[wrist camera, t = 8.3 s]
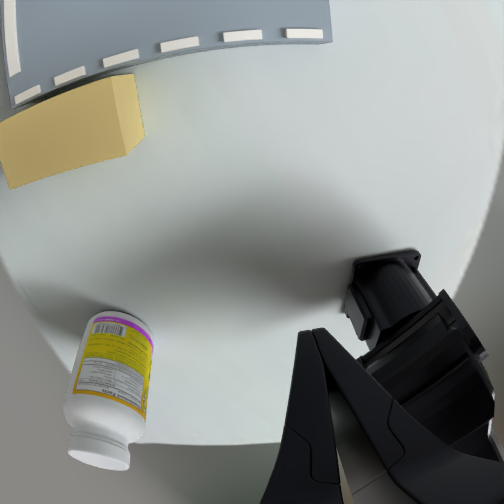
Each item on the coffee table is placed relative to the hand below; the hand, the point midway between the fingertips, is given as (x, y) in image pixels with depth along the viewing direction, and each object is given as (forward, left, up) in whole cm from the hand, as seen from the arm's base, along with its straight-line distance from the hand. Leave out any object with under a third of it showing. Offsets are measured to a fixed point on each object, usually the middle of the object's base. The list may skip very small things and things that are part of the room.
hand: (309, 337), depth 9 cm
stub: (+11, -7, -12) cm, 17 cm away
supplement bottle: (+14, +12, -12) cm, 22 cm away
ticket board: (+5, -14, -12) cm, 19 cm away
